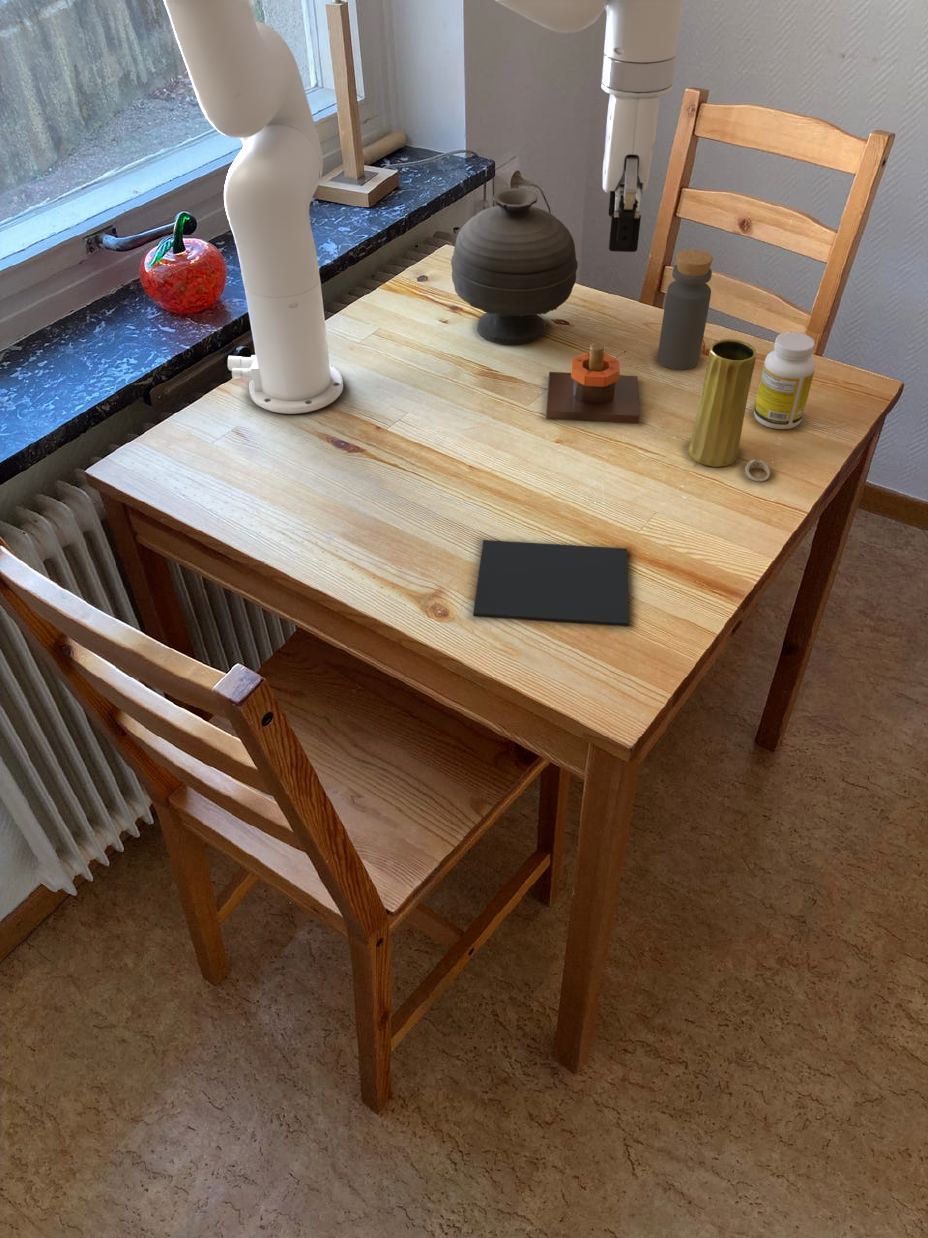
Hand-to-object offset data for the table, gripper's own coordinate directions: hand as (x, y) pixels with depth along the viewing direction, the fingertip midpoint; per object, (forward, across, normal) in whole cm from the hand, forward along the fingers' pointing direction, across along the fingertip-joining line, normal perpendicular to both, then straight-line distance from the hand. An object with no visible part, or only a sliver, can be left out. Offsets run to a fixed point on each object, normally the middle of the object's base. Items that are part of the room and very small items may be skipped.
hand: (622, 232), depth 117 cm
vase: (+23, +11, +13) cm, 29 cm away
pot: (+23, -19, -14) cm, 33 cm away
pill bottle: (+23, +2, +22) cm, 32 cm away
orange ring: (+19, 0, -2) cm, 19 cm away
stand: (+23, 0, -2) cm, 23 cm away
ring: (+23, +15, +18) cm, 33 cm away
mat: (+23, +37, -6) cm, 44 cm away
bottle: (+23, -12, +10) cm, 28 cm away
